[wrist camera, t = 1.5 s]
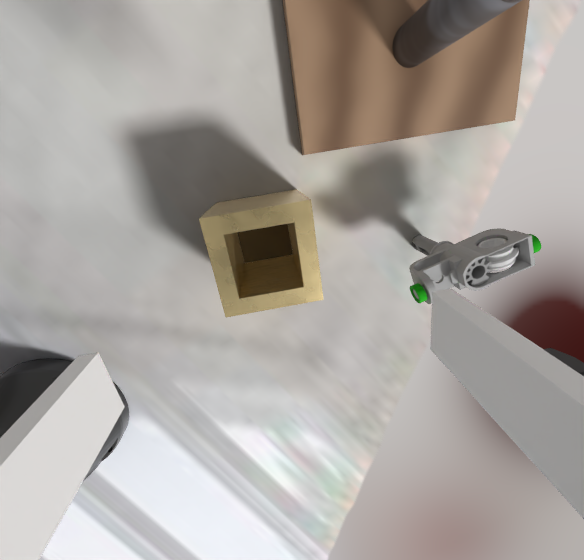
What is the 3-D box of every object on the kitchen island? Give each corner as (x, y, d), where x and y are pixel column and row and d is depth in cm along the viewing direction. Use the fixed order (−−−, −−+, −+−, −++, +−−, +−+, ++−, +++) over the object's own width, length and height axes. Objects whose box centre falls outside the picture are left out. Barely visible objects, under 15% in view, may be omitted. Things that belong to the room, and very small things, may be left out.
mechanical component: (371, 250, 32) (416, 284, 23) (459, 210, 32) (541, 229, 23) (379, 272, 34) (425, 314, 24) (464, 234, 33) (545, 262, 24)
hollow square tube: (234, 277, 32) (225, 317, 24) (216, 202, 29) (198, 218, 21) (307, 264, 32) (323, 299, 24) (296, 189, 29) (311, 199, 21)
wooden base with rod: (302, 155, 28) (338, 148, 15) (277, -39, 23) (300, -306, 10) (502, 122, 29) (702, 88, 16) (523, -73, 24) (849, -365, 11)
